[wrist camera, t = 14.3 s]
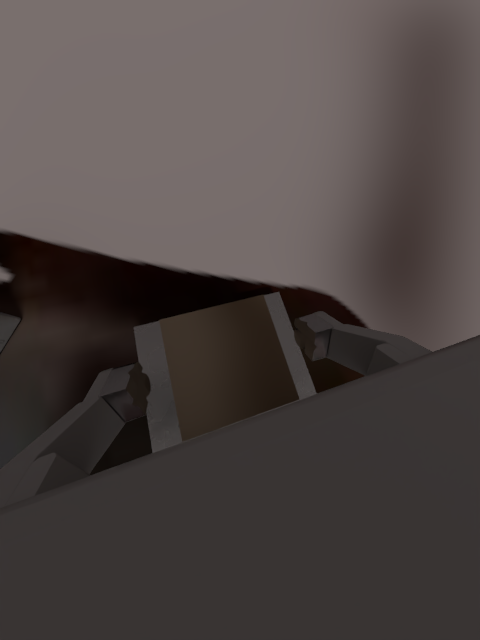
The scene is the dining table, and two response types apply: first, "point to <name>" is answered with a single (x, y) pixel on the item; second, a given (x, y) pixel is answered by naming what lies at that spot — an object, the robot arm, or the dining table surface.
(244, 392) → the beech pin
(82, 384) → the dining table surface
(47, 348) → the dining table surface
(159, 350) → the socket plate
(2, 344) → the coffee box
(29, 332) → the dining table surface
